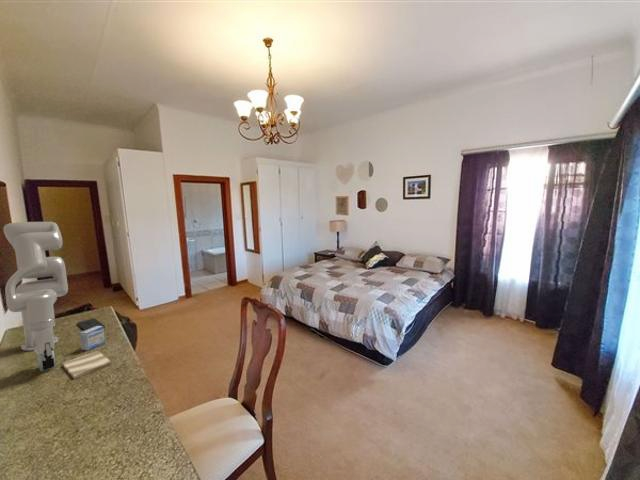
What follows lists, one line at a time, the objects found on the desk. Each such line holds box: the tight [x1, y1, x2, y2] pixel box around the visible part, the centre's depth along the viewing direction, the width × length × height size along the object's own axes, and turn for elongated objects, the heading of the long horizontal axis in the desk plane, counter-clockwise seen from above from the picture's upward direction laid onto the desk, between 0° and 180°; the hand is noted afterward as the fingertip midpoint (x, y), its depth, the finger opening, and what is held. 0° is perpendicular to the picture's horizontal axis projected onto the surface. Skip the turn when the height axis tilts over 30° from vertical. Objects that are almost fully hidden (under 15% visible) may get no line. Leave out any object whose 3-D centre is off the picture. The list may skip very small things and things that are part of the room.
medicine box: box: [79, 326, 106, 351], centre depth 128 cm, size 8×4×9 cm, turn 168°
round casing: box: [37, 350, 56, 372], centre depth 110 cm, size 5×5×8 cm
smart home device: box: [76, 318, 105, 332], centre depth 152 cm, size 8×2×20 cm
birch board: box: [62, 350, 112, 380], centre depth 113 cm, size 16×12×1 cm
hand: (47, 365), depth 111 cm, fingers closed on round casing, 4 cm apart
